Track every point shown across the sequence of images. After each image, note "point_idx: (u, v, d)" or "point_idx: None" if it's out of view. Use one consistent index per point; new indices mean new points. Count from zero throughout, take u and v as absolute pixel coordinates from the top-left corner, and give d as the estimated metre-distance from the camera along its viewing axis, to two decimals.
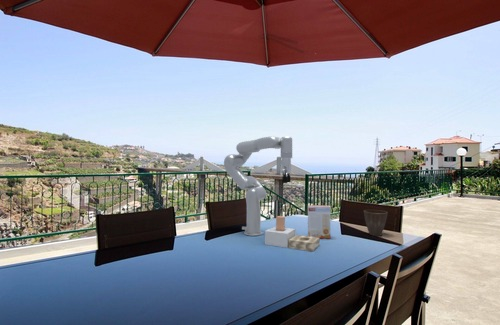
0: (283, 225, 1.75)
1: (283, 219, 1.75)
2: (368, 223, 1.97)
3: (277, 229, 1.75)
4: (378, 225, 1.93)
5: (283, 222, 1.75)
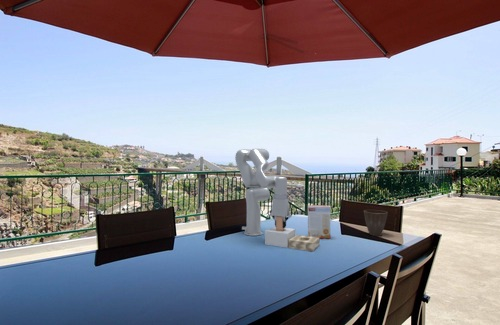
0: None
1: None
2: (368, 223, 1.97)
3: (277, 229, 1.75)
4: (378, 225, 1.93)
5: None
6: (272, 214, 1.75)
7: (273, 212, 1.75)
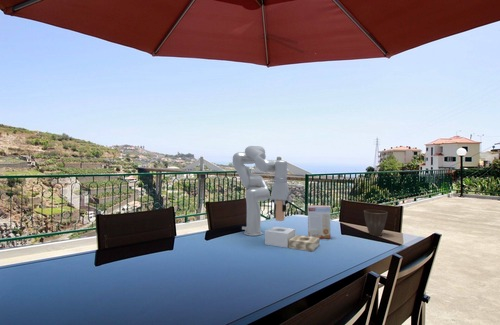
0: None
1: None
2: (368, 223, 1.97)
3: (277, 213, 1.75)
4: (378, 225, 1.93)
5: None
6: (272, 198, 1.76)
7: (273, 196, 1.75)
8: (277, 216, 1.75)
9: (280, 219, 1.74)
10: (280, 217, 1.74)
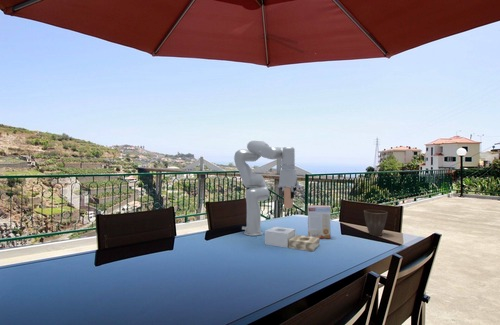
0: None
1: None
2: (368, 223, 1.97)
3: (285, 200, 1.72)
4: (378, 225, 1.93)
5: None
6: (280, 185, 1.73)
7: (281, 183, 1.73)
8: (285, 203, 1.72)
9: (289, 206, 1.71)
10: (289, 204, 1.71)
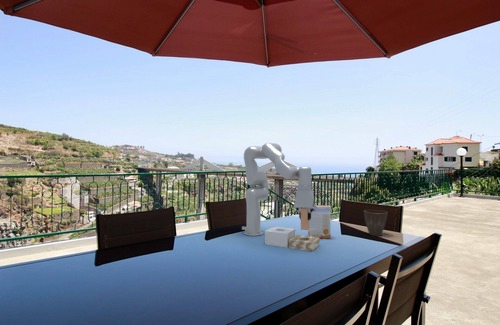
0: None
1: None
2: (368, 223, 1.97)
3: (302, 221, 1.67)
4: (378, 225, 1.93)
5: None
6: (296, 206, 1.68)
7: (297, 204, 1.68)
8: (302, 225, 1.67)
9: (305, 228, 1.66)
10: (305, 226, 1.66)
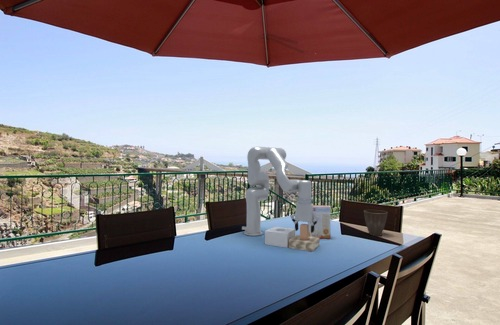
0: (307, 233, 1.68)
1: (307, 227, 1.68)
2: (368, 223, 1.97)
3: (301, 237, 1.68)
4: (378, 225, 1.93)
5: (307, 230, 1.68)
6: (296, 219, 1.68)
7: (297, 217, 1.68)
8: None
9: None
10: None
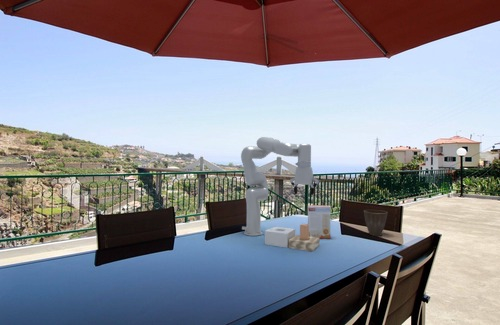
0: (307, 233, 1.68)
1: (307, 227, 1.68)
2: (368, 223, 1.97)
3: (301, 237, 1.68)
4: (378, 225, 1.93)
5: (307, 230, 1.68)
6: (295, 182, 1.69)
7: (296, 180, 1.69)
8: None
9: None
10: None
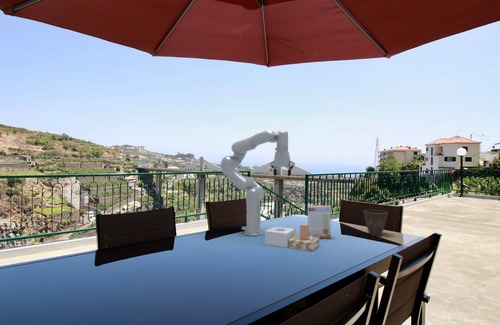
0: (307, 233, 1.68)
1: (307, 227, 1.68)
2: (368, 223, 1.97)
3: (301, 237, 1.68)
4: (378, 225, 1.93)
5: (307, 230, 1.68)
6: (274, 165, 1.91)
7: (275, 163, 1.91)
8: None
9: None
10: None
